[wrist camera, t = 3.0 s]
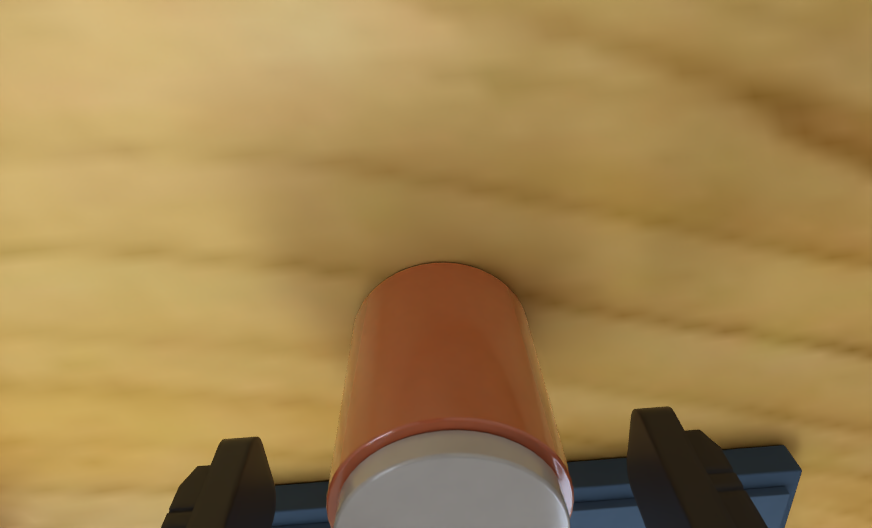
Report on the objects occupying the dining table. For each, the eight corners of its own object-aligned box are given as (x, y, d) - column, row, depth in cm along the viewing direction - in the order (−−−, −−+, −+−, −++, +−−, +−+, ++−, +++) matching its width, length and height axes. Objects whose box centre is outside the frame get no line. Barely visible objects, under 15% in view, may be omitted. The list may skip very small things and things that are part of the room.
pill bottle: (340, 269, 15) (297, 458, 10) (527, 253, 15) (588, 434, 9) (366, 410, 17) (343, 624, 12) (528, 396, 17) (578, 607, 12)
